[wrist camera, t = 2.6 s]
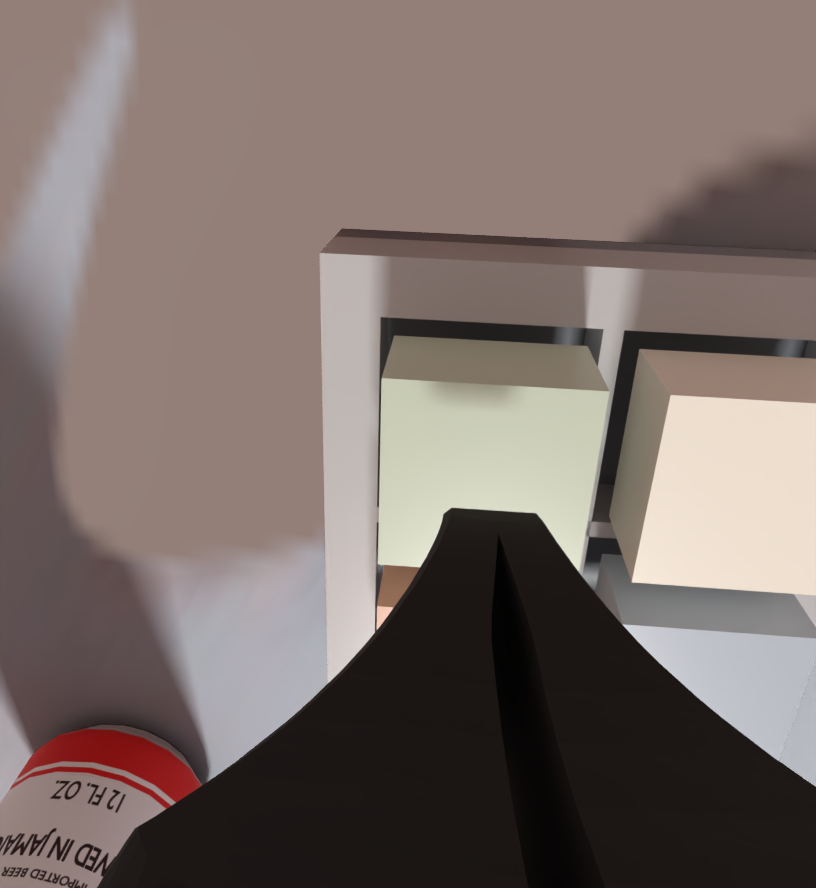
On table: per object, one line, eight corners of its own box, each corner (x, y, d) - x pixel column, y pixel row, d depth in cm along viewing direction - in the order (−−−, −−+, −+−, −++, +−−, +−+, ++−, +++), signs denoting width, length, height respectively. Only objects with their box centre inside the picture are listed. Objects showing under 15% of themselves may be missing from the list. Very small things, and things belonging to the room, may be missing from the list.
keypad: (866, 253, 16) (941, 284, 13) (741, 659, 21) (779, 736, 18) (342, 228, 16) (319, 253, 14) (344, 629, 22) (328, 700, 19)
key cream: (839, 360, 14) (907, 408, 12) (787, 527, 16) (838, 596, 13) (639, 349, 14) (670, 394, 12) (608, 516, 16) (631, 582, 14)
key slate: (775, 565, 16) (823, 639, 14) (735, 693, 18) (772, 777, 16) (602, 553, 16) (622, 624, 14) (578, 681, 18) (594, 762, 16)
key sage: (587, 345, 14) (609, 391, 12) (562, 512, 16) (577, 578, 14) (394, 335, 14) (381, 378, 12) (389, 500, 16) (378, 564, 14)
